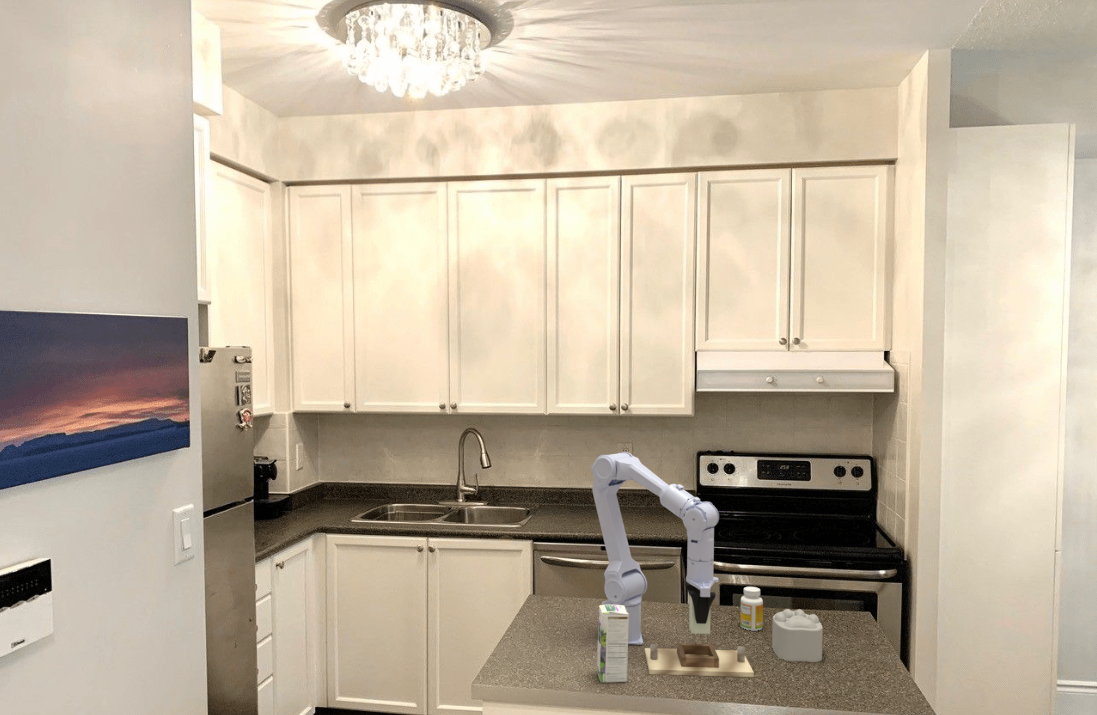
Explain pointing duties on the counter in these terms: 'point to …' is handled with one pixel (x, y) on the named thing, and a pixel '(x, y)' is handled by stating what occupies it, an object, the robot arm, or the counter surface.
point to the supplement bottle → (751, 609)
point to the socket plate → (698, 661)
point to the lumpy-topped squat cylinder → (797, 636)
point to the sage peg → (693, 625)
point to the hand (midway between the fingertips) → (699, 619)
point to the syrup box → (612, 643)
